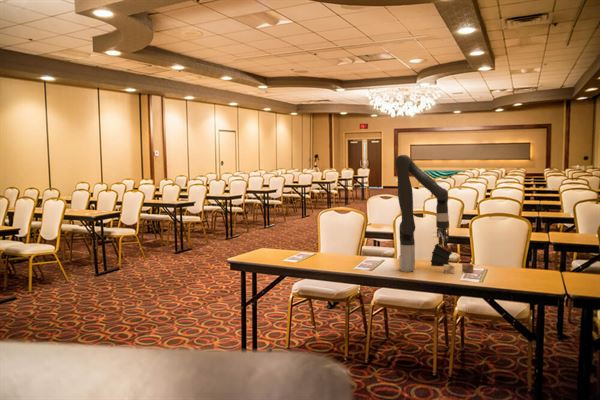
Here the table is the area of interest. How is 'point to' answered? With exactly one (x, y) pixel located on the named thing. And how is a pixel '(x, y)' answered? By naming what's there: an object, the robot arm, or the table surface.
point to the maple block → (449, 269)
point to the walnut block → (467, 268)
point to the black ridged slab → (440, 255)
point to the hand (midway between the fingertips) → (443, 245)
